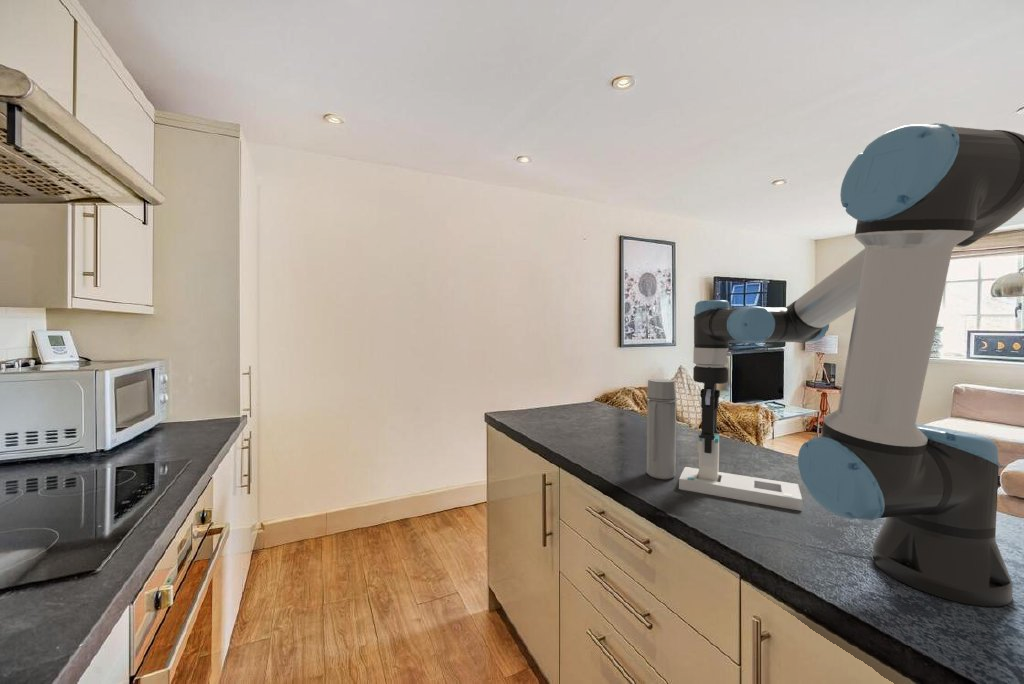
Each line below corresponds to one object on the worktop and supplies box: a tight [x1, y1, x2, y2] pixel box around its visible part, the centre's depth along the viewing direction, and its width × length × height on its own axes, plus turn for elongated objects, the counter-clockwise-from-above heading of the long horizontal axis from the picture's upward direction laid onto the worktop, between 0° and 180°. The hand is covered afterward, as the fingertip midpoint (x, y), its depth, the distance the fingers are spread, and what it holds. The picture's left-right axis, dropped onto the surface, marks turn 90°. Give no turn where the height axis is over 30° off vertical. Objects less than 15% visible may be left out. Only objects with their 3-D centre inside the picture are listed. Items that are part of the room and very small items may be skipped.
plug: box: [696, 434, 720, 481], centre depth 100 cm, size 4×5×10 cm
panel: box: [678, 466, 803, 512], centre depth 97 cm, size 10×24×3 cm, turn 60°
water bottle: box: [645, 378, 678, 480], centre depth 109 cm, size 9×8×25 cm
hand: (708, 462), depth 100 cm, fingers closed on plug, 4 cm apart
